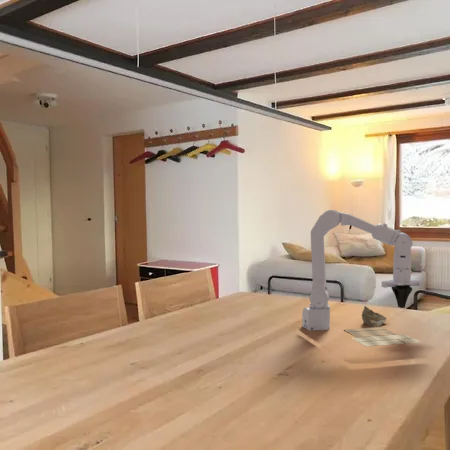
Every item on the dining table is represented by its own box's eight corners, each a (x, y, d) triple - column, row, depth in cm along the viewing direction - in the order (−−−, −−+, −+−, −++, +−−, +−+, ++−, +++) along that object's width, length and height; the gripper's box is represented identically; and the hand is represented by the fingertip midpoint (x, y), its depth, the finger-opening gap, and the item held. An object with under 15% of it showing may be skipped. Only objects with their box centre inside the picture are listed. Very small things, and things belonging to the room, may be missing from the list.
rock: (377, 329, 176) (361, 306, 181) (367, 338, 179) (351, 315, 184) (394, 324, 183) (377, 302, 188) (383, 333, 187) (367, 311, 192)
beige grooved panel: (366, 350, 155) (366, 346, 154) (350, 342, 164) (350, 337, 164) (421, 346, 159) (421, 341, 159) (403, 338, 169) (403, 333, 169)
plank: (356, 341, 165) (356, 337, 165) (343, 333, 174) (343, 329, 174) (396, 338, 169) (396, 334, 169) (381, 330, 178) (381, 326, 178)
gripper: (390, 270, 164) (389, 310, 164) (427, 268, 167) (427, 308, 168) (378, 267, 171) (377, 306, 171) (414, 266, 174) (414, 304, 175)
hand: (401, 307), depth 170 cm, fingers closed
